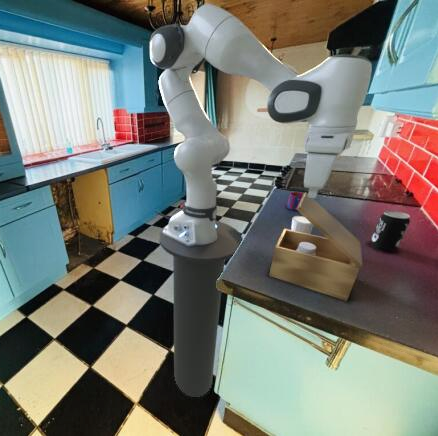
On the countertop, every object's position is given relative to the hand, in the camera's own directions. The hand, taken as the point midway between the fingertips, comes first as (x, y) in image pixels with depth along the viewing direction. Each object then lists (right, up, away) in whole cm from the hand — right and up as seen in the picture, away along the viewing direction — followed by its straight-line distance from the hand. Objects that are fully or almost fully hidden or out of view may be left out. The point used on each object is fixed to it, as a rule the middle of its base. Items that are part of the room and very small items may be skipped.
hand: (312, 196), depth 60 cm
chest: (+4, -22, +8) cm, 24 cm away
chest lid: (+4, -8, 0) cm, 9 cm away
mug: (+26, -2, +49) cm, 56 cm away
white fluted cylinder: (+14, -13, +27) cm, 33 cm away
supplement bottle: (+3, -21, +9) cm, 23 cm away
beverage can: (+36, -15, +18) cm, 43 cm away
